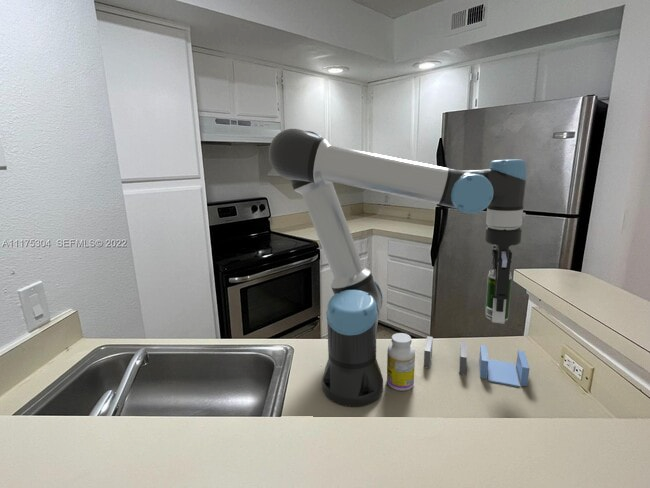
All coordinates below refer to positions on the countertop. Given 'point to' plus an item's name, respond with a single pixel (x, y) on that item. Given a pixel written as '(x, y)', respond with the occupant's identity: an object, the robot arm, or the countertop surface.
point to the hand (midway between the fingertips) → (496, 316)
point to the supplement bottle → (400, 362)
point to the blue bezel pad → (502, 373)
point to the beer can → (492, 292)
